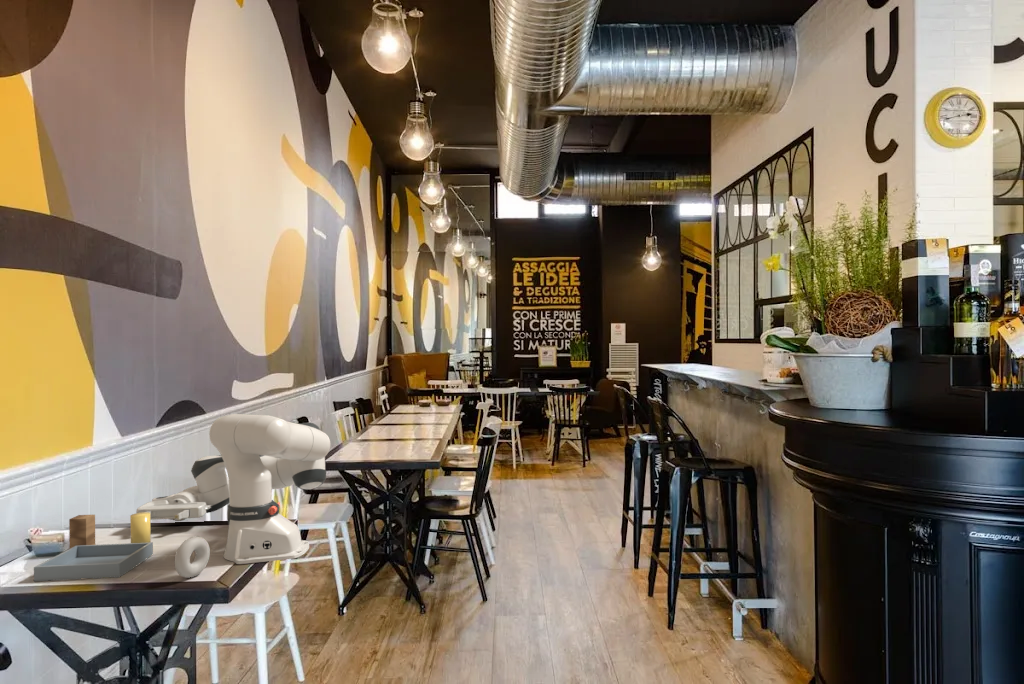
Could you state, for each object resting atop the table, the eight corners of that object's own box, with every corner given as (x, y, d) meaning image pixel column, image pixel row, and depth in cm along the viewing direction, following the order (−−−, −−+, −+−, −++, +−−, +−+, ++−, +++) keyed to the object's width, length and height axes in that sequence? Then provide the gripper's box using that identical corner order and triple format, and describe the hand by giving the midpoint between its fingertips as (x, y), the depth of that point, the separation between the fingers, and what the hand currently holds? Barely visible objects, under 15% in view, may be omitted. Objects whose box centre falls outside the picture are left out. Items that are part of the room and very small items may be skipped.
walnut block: (95, 548, 183) (95, 514, 183) (86, 553, 179) (86, 518, 179) (79, 549, 183) (78, 515, 183) (69, 554, 178) (69, 519, 179)
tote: (152, 554, 177) (152, 542, 177) (119, 577, 159) (119, 563, 159) (76, 558, 175) (76, 545, 175) (33, 581, 157) (33, 567, 157)
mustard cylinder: (153, 545, 185) (153, 512, 185) (145, 551, 180) (145, 516, 180) (136, 546, 185) (135, 512, 185) (127, 552, 180) (126, 517, 180)
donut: (182, 584, 153) (181, 543, 154) (171, 583, 154) (170, 542, 155) (213, 570, 163) (212, 532, 163) (202, 569, 164) (202, 531, 164)
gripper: (213, 514, 209) (195, 526, 196) (149, 517, 208) (127, 529, 194) (213, 495, 209) (195, 506, 196) (149, 498, 208) (127, 508, 194)
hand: (161, 517), depth 195 cm, fingers open, 8 cm apart
